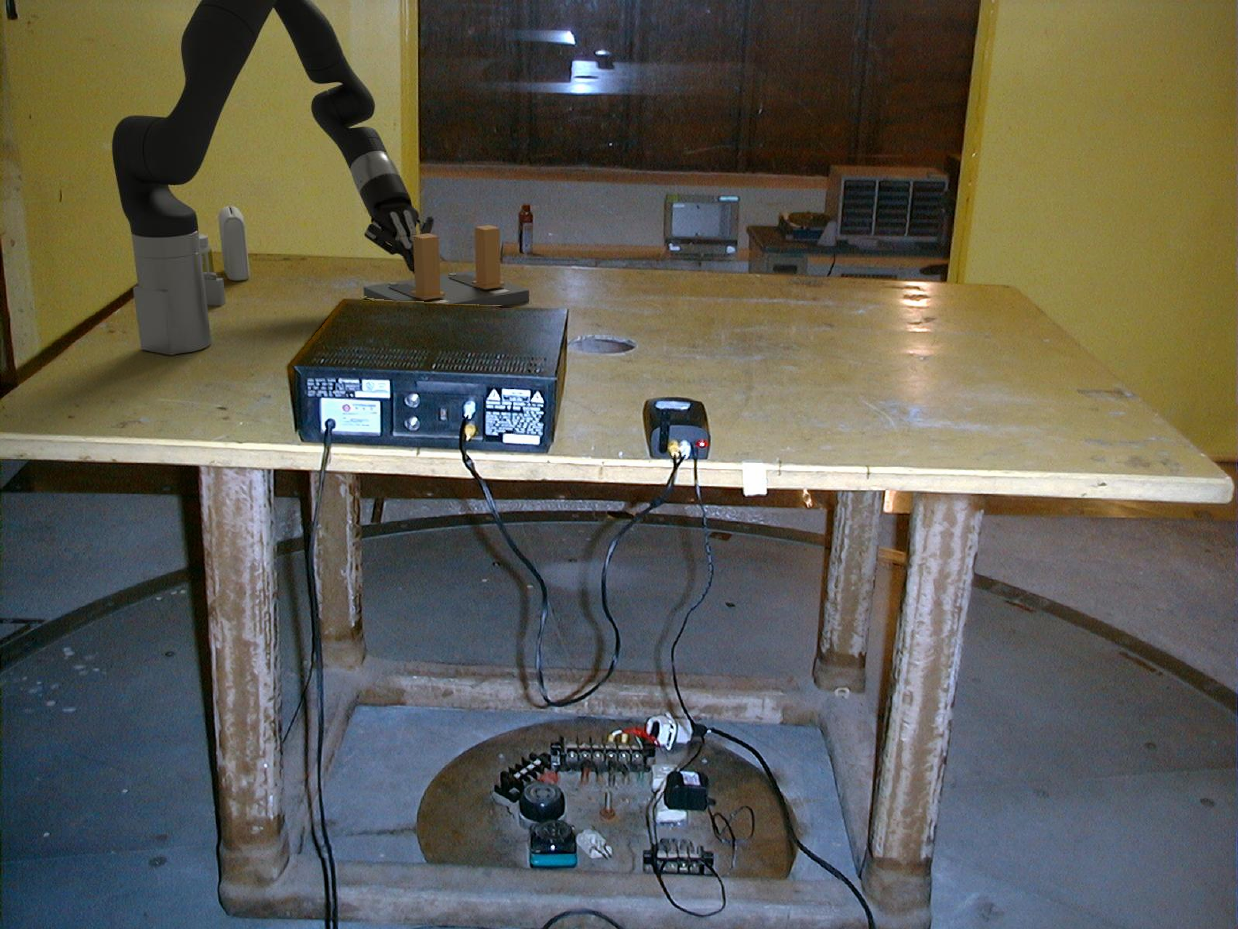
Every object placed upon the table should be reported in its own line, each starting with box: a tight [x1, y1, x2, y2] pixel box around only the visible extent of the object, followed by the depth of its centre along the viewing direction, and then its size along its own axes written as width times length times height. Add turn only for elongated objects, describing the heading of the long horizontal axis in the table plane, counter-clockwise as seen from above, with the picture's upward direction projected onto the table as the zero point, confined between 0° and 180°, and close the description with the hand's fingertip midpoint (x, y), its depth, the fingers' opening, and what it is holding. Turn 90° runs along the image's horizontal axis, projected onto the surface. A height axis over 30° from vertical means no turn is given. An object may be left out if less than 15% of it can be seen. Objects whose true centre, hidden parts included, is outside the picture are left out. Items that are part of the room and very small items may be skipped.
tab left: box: [411, 233, 445, 300], centre depth 201 cm, size 4×4×10 cm
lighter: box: [203, 272, 226, 307], centre depth 203 cm, size 7×2×8 cm, turn 83°
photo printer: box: [217, 205, 251, 281], centre depth 221 cm, size 10×4×12 cm, turn 21°
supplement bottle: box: [199, 233, 215, 273], centre depth 216 cm, size 5×5×8 cm
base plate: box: [362, 269, 530, 306], centre depth 209 cm, size 22×18×2 cm
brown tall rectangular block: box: [472, 224, 505, 289], centre depth 208 cm, size 4×4×10 cm
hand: (420, 270), depth 202 cm, fingers closed
